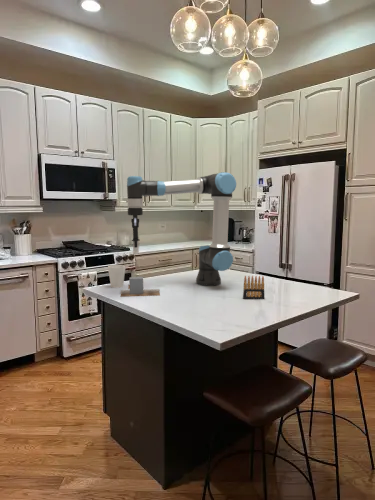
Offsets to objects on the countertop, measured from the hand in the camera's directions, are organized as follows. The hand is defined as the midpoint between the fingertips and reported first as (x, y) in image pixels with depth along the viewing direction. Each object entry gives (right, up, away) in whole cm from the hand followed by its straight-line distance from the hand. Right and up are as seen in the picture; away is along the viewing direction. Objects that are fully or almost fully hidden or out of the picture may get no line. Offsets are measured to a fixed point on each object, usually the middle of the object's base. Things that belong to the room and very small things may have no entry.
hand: (135, 253), depth 183 cm
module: (0, -21, +3) cm, 21 cm away
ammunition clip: (+60, -23, -2) cm, 64 cm away
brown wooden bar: (+2, -21, +3) cm, 21 cm away
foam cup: (-13, -20, +18) cm, 30 cm away
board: (+2, -22, +3) cm, 22 cm away
